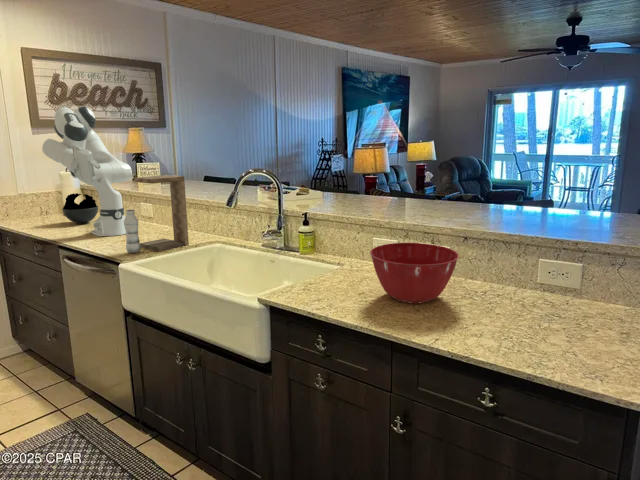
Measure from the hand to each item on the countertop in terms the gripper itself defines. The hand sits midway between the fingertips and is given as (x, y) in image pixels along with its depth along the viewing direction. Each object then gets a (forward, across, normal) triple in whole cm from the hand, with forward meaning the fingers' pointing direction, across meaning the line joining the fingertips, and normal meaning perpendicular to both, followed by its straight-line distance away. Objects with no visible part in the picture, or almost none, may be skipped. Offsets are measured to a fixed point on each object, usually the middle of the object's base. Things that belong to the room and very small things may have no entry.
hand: (100, 174), depth 225 cm
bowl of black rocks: (-38, +86, -18) cm, 95 cm away
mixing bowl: (+144, -52, +20) cm, 154 cm away
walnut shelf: (+36, +24, +5) cm, 43 cm away
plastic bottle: (+30, +19, +18) cm, 39 cm away
